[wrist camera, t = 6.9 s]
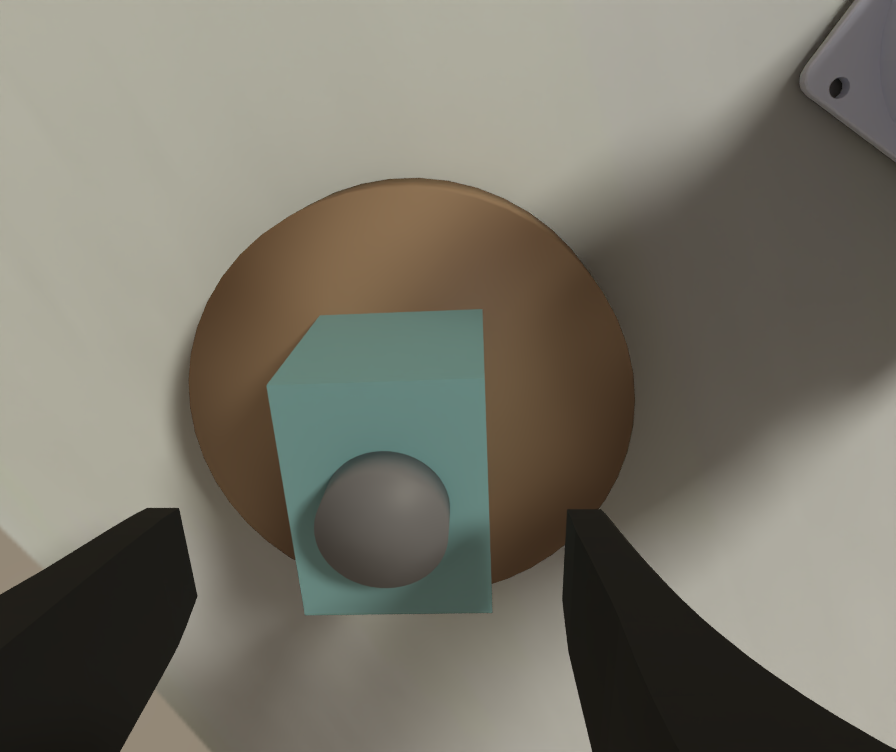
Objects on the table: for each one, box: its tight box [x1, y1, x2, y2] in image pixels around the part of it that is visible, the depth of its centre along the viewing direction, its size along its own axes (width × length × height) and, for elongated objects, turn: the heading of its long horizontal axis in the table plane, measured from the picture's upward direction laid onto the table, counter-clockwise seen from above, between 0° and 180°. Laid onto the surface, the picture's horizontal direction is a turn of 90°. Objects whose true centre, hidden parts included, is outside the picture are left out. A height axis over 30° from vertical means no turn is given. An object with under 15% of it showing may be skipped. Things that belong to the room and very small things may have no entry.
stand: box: [189, 178, 635, 584], centre depth 20 cm, size 13×13×2 cm
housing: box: [266, 309, 492, 615], centre depth 16 cm, size 4×6×6 cm
